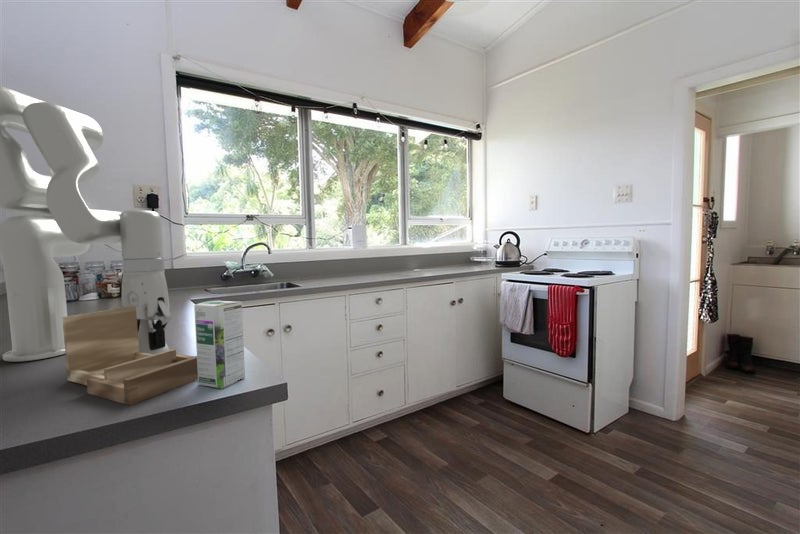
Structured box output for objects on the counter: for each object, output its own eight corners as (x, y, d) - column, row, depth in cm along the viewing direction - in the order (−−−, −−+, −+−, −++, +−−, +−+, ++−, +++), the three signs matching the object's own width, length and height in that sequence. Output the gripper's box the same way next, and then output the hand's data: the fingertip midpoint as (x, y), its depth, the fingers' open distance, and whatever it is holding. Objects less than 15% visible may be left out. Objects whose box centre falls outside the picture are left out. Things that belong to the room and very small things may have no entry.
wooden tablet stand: (67, 380, 68) (62, 317, 67) (136, 360, 79) (132, 305, 78) (108, 391, 62) (103, 322, 61) (176, 368, 73) (173, 309, 72)
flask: (149, 360, 79) (146, 314, 78) (122, 359, 80) (118, 314, 80) (176, 350, 86) (174, 308, 85) (150, 349, 87) (147, 307, 87)
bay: (87, 393, 62) (85, 370, 62) (174, 364, 76) (173, 345, 76) (130, 405, 57) (128, 380, 57) (215, 372, 71) (214, 352, 71)
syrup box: (196, 385, 65) (191, 304, 64) (223, 374, 70) (219, 298, 69) (221, 389, 63) (217, 305, 62) (247, 377, 68) (243, 300, 67)
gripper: (102, 267, 82) (109, 347, 83) (150, 268, 75) (156, 356, 76) (138, 265, 89) (143, 339, 90) (185, 266, 81) (190, 346, 83)
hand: (149, 346), depth 83 cm, fingers closed on flask, 4 cm apart
